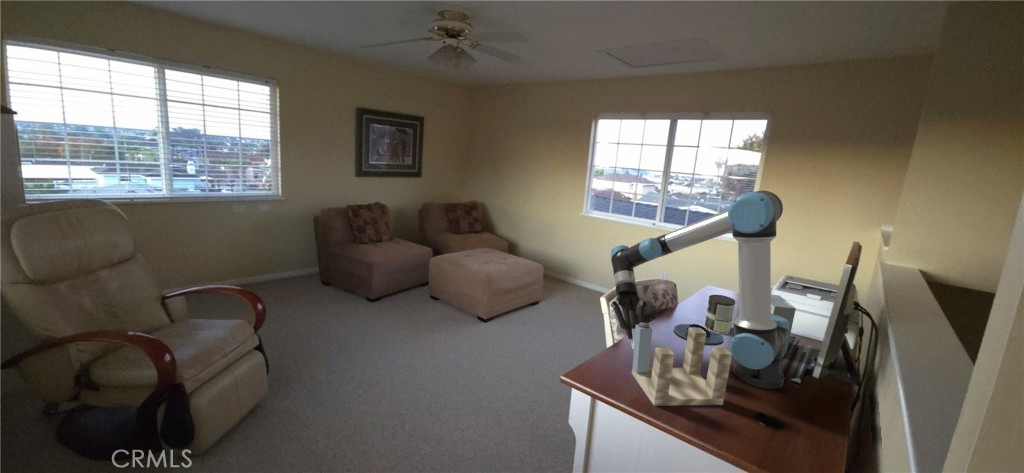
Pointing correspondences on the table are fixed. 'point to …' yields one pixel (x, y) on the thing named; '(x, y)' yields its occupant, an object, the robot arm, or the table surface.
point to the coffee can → (719, 314)
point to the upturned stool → (687, 375)
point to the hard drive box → (783, 313)
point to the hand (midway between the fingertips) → (635, 348)
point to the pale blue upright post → (642, 348)
